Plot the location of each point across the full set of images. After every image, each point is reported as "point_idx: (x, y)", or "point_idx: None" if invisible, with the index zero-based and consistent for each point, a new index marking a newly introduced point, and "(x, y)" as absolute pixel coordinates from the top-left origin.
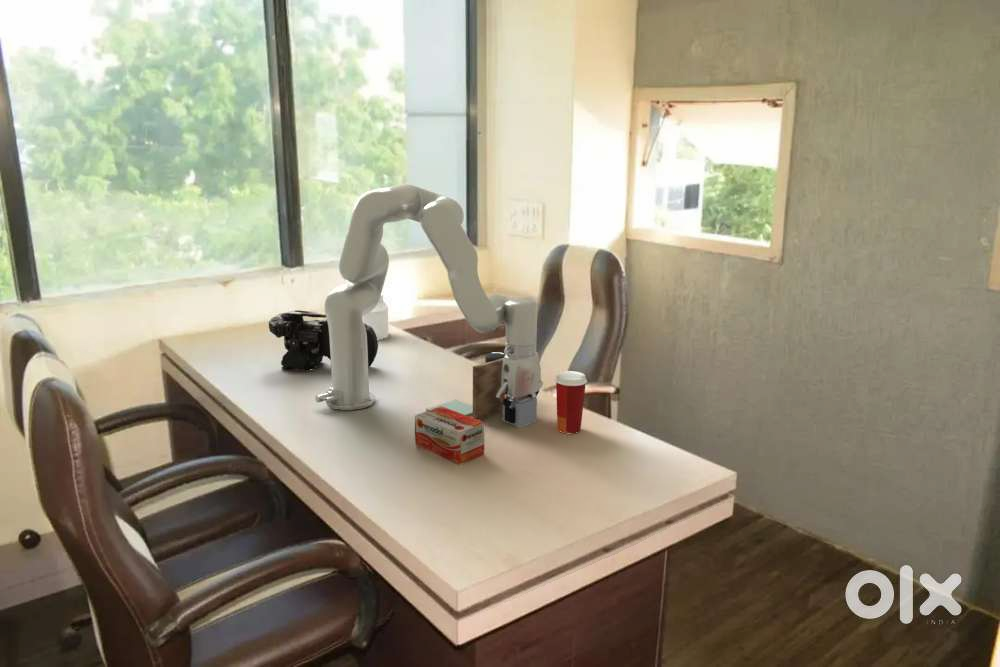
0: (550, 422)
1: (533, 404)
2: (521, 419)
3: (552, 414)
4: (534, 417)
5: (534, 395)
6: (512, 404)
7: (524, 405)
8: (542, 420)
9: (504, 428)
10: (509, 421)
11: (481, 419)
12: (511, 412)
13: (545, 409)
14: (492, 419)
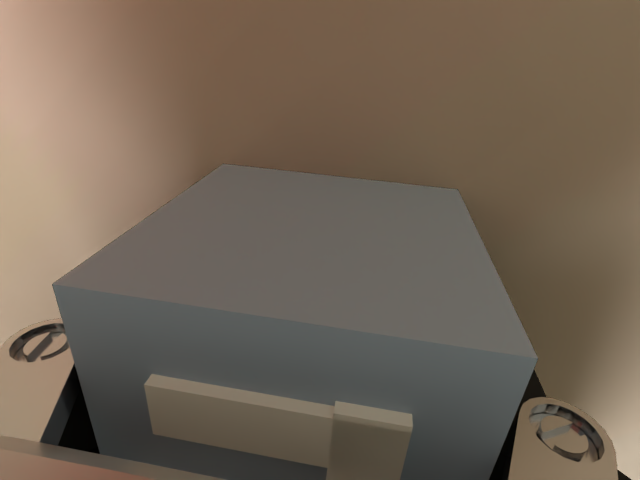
0: (130, 37)
1: (180, 256)
2: (439, 216)
3: (5, 157)
4: (232, 181)
5: (9, 385)
6: (567, 459)
7: (395, 308)
8: (161, 135)
9: (561, 278)
10: None
11: None
12: None
13: (3, 261)
14: None
